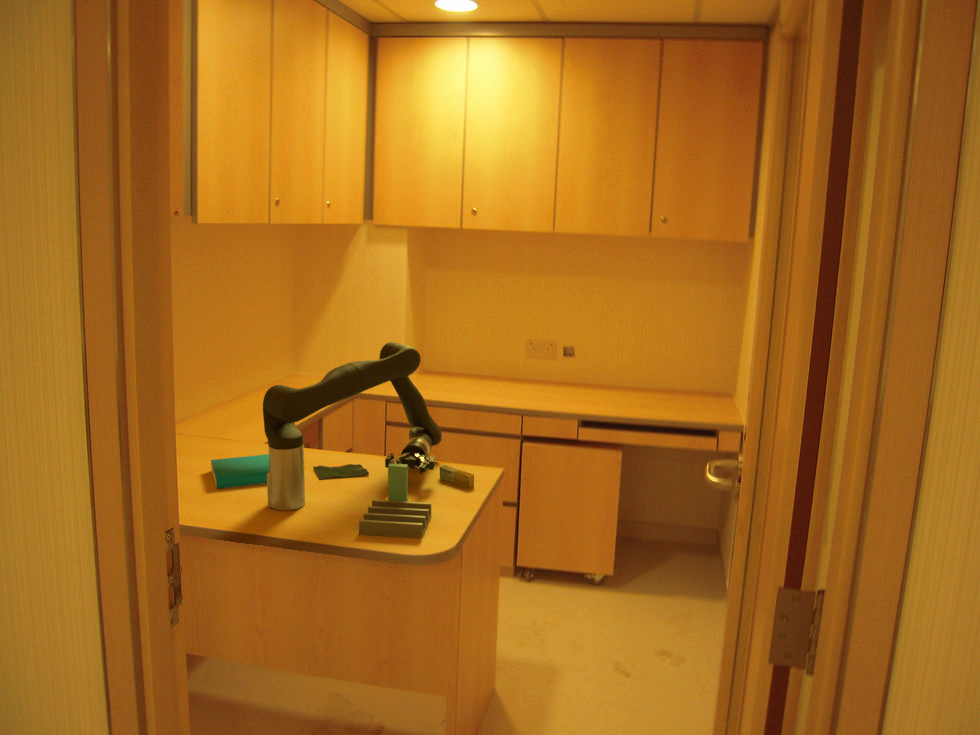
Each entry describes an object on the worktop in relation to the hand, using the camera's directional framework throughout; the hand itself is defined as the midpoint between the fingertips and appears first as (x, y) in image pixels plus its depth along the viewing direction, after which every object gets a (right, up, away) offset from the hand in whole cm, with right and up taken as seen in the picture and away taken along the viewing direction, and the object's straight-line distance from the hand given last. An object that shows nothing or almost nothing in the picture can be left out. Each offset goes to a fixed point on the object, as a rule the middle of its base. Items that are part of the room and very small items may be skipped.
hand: (405, 469), depth 237 cm
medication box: (+14, -5, +11) cm, 18 cm away
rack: (0, -12, -21) cm, 24 cm away
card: (-1, -9, -9) cm, 13 cm away
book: (-46, -4, +13) cm, 48 cm away
